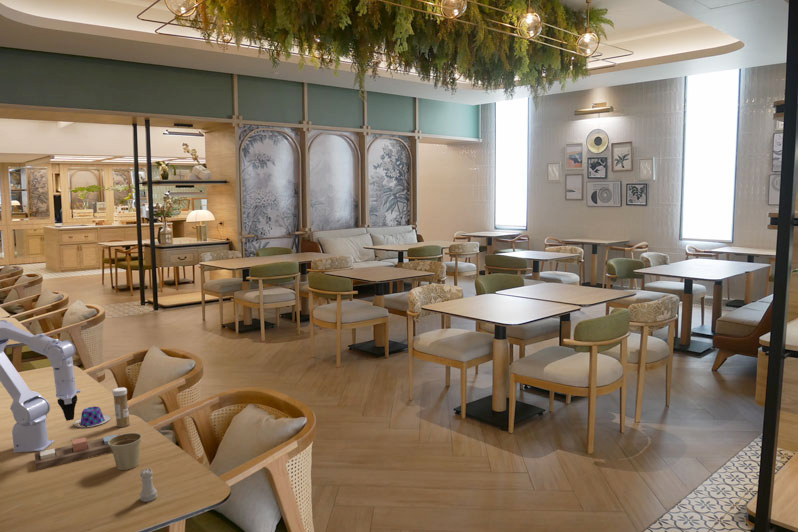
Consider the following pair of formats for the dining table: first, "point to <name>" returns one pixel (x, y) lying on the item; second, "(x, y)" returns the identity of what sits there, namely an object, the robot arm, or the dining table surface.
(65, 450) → the board
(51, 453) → the white key
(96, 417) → the purple domed brimmed piece
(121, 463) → the flower pot
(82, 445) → the brick key
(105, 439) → the blue key
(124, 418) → the sprinkles bottle
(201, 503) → the dining table surface
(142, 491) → the rook chess piece
